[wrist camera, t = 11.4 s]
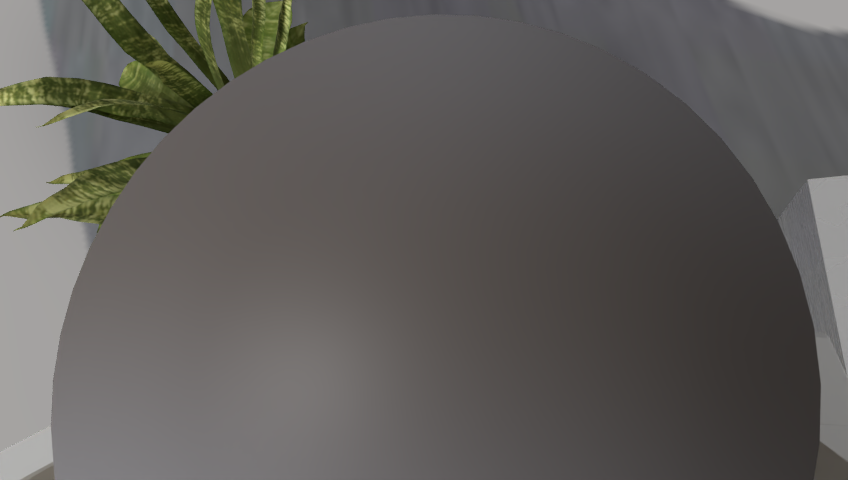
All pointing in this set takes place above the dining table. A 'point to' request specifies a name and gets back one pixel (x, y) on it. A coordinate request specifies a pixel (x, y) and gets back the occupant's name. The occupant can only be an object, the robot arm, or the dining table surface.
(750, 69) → the dining table surface
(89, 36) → the dining table surface
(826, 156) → the dining table surface
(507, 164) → the beige and grey cylinder
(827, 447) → the robot arm
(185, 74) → the house plant
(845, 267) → the bore housing
